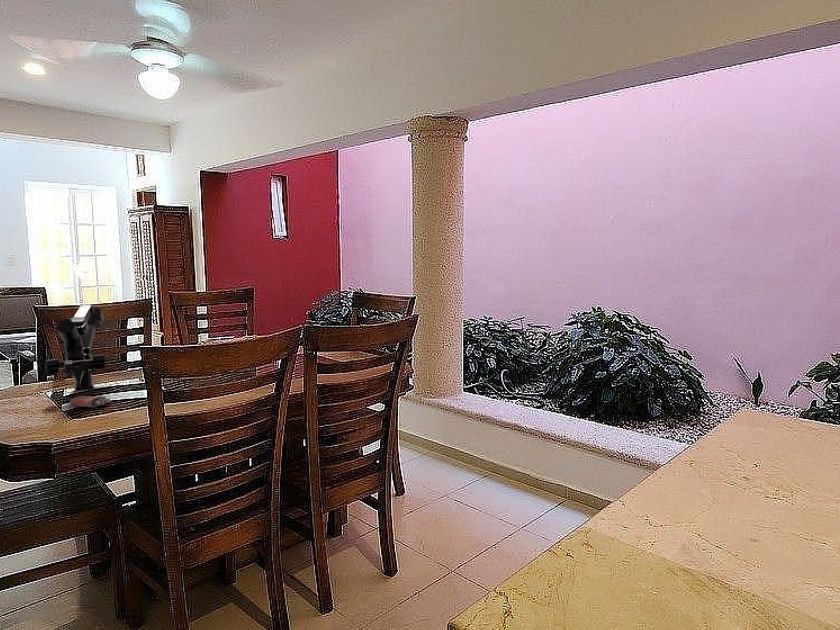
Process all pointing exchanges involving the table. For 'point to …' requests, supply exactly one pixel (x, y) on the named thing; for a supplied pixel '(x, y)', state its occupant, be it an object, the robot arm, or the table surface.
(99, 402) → the lighter
